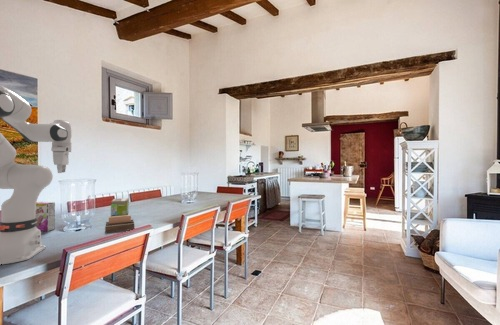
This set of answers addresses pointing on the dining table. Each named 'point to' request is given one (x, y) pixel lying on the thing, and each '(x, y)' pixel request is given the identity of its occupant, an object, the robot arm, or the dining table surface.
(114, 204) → the tea box
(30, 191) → the robot arm
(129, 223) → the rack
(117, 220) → the tile strip
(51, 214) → the candy bar box
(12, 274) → the dining table surface
